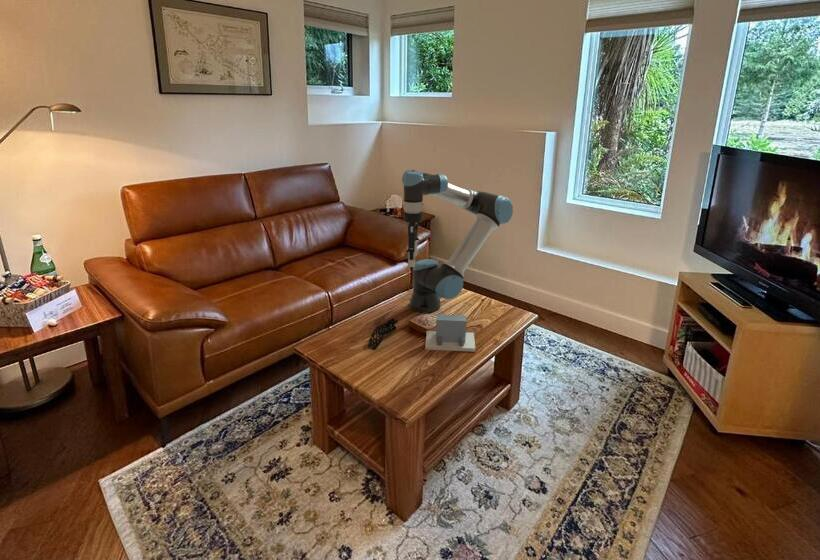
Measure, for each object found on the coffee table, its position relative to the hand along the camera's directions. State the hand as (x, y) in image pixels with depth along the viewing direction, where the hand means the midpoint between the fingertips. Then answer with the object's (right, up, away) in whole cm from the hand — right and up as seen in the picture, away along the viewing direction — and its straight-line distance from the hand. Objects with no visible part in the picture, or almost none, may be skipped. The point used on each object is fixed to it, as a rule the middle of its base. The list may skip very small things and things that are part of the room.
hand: (412, 261), depth 195 cm
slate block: (+16, -33, -2) cm, 36 cm away
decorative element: (-12, -33, +2) cm, 35 cm away
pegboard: (+16, -34, -2) cm, 37 cm away
